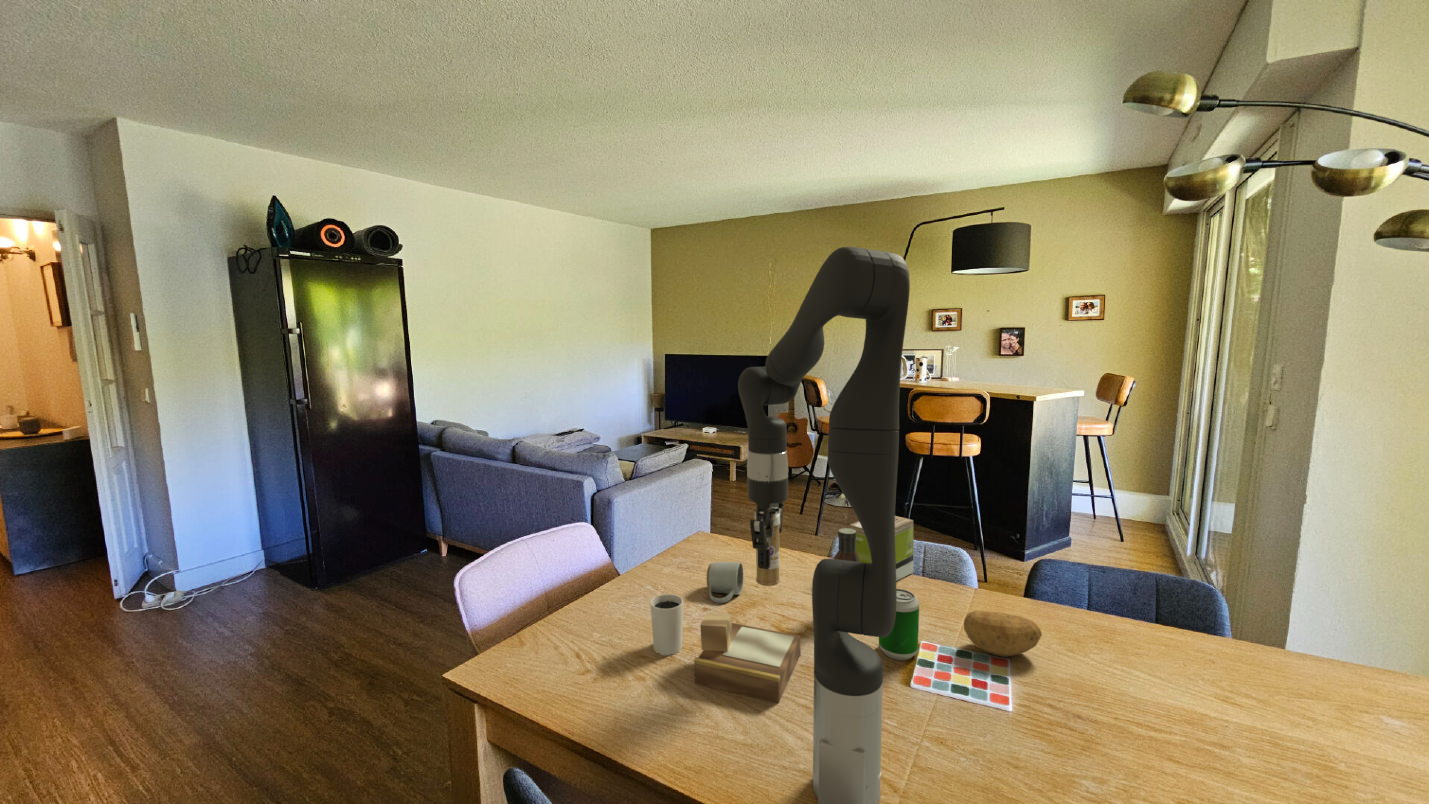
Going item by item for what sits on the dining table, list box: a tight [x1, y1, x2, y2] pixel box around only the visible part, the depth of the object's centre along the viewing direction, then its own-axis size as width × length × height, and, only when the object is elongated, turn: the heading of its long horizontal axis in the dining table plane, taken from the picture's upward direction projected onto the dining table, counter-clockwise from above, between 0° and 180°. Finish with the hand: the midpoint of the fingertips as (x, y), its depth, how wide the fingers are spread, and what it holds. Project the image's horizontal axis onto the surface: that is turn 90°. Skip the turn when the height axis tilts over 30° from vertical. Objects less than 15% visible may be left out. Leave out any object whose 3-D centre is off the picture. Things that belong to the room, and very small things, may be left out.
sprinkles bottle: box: [755, 513, 781, 587], centre depth 108 cm, size 5×5×13 cm
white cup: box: [649, 593, 684, 656], centre depth 117 cm, size 7×7×10 cm
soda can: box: [878, 587, 920, 661], centre depth 114 cm, size 8×8×12 cm
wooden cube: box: [699, 612, 733, 652], centre depth 111 cm, size 5×5×5 cm
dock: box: [693, 622, 802, 704], centre depth 110 cm, size 16×16×5 cm
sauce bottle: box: [833, 527, 860, 562], centre depth 128 cm, size 7×6×20 cm
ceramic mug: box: [706, 561, 744, 604], centre depth 141 cm, size 11×8×8 cm
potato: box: [963, 609, 1043, 658], centre depth 114 cm, size 10×14×8 cm
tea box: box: [849, 515, 914, 582], centre depth 150 cm, size 15×10×15 cm, turn 130°
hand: (767, 562), depth 108 cm, fingers closed on sprinkles bottle, 4 cm apart
